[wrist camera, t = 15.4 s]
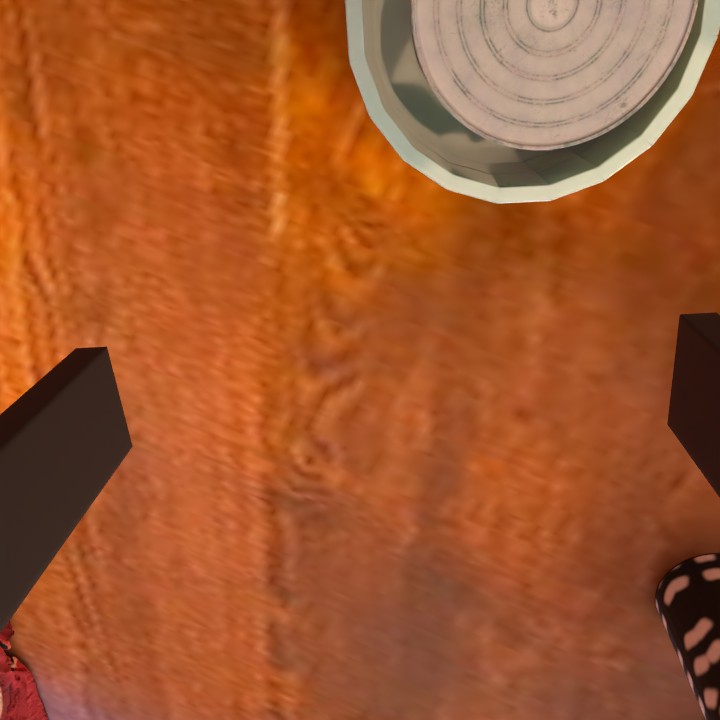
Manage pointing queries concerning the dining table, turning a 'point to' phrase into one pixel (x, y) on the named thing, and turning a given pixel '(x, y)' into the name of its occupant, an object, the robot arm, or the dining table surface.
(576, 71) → the canned food
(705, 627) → the white-spotted black cylinder
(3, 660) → the plate with food
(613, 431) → the dining table surface
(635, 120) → the pot
